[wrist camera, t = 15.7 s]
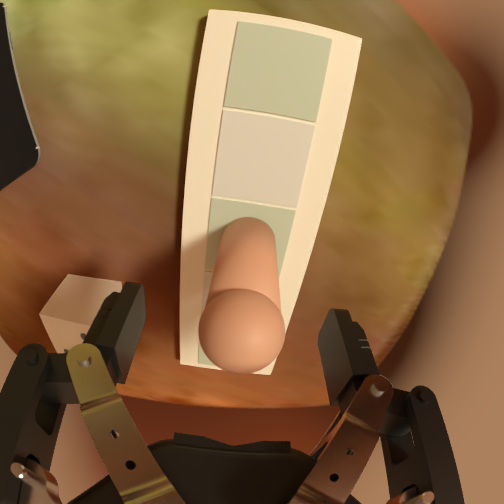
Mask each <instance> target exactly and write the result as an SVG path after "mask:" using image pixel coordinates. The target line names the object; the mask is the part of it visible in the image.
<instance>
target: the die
mask: <svg viewBox="0 0 504 504" xmlns="http://www.w3.org/2000/svg"><path fill="white" fill-rule="evenodd" d="M121 290H122V284H121V281H113V280H106V279H99V278H92V277H85V276H78V275H72V274H68V275H67V276H66V277H65V279H64V280H63V281H62V283H61V284H60V285H59V287H58V288H57V289H56V291H55V292H54V293H53V295H52V296H51V297H50V299H49V300H48V302H47V303H46V304H45V306H44V307H43V309H42V310H41V311H40V313H39V315H40V318H41V320H42V322H43V324H44V327H45V329H46V331H47V333H48V335H49V338H50V340H51V342H52V344H53V346H54V348H55V350H56V352H57V353H68V352H69V350H70V349H71V348H73V347H74V346H76V345H78V344H82V342H83V341H84V339H85V336H86V334H87V332H88V330H89V328H90V326H91V324H92V322H93V320H94V318H95V317H96V316H97V313H98V311H99V309H100V307H101V305H102V303H103V301H104V299H105V298H106V297H107V296H109V295H110V294H111V293H112V292H119V293H120V292H121Z"/></svg>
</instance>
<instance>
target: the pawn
mask: <svg viewBox="0 0 504 504" xmlns="http://www.w3.org/2000/svg"><path fill="white" fill-rule="evenodd" d="M198 335H199V341H200V345H201V347H202V349H203V352H204V353H205V355H206V356H207V358H208V359H209V360H210V361H211V362H212V363H213V364H214V365H216V366H217V367H219V368H221V369H222V370H225V371H227V372H230V373H235V374H249V373H254V372H257V371H259V370H262V369H263V368H265V367H267V366H268V365H269V364H271V363H272V362H273V361H274V359H275V358H276V357H277V356H278V354H279V353H280V351H281V349H282V346H283V343H284V339H285V324H284V320H283V317H282V314H281V301H280V289H279V277H278V265H277V253H276V242H275V235H274V233H273V230H272V229H271V227H270V226H269V225H268V224H267V223H265V222H264V221H262V220H260V219H258V218H254V217H242V218H238V219H236V220H234V221H232V222H231V223H230V224H228V225H227V227H226V228H225V230H224V231H223V234H222V238H221V242H220V246H219V250H218V254H217V259H216V263H215V267H214V271H213V275H212V280H211V284H210V288H209V293H208V297H207V301H206V306H205V309H204V311H203V313H202V315H201V318H200V321H199V327H198Z"/></svg>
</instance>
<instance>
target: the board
mask: <svg viewBox="0 0 504 504" xmlns="http://www.w3.org/2000/svg"><path fill="white" fill-rule="evenodd" d="M361 43H362V38H359V37H356V36H353V35H349V34H346V33H343V32H339V31H336V30H332V29H329V28H325V27H321V26H317V25H313V24H309V23H305V22H300V21H295V20H290V19H285V18H280V17H274V16H268V15H261V14H254V13H246V12H237V11H225V10H210V9H209V13H208V18H207V24H206V29H205V34H204V40H203V45H202V51H201V57H200V63H199V69H198V76H197V83H196V89H195V97H194V104H193V112H192V120H191V129H190V137H189V147H188V157H187V168H186V179H185V192H184V206H183V222H182V241H181V267H180V364H185V365H191V366H198V367H204V368H211V369H219V370H222V369H221V368H219V367H217V366H216V365H214V364H213V363H212V362H211V361H210V360H209V359H208V358H207V356H206V355H205V353H204V352H203V349H202V347H201V345H200V341H199V335H198V327H199V321H200V318H201V315H202V313H203V311H204V309H205V306H206V301H207V297H208V293H209V288H210V284H211V280H212V275H213V271H214V267H215V263H216V259H217V254H218V250H219V246H220V242H221V238H222V234H223V231H224V230H225V228H226V227H227V225H228V224H230V223H231V222H232V221H234V220H236V219H238V218H242V217H254V218H258V219H260V220H262V221H264V222H265V223H267V224H268V225H269V226H270V227H271V229H272V230H273V233H274V235H275V242H276V253H277V265H278V277H279V289H280V301H281V314H282V317H283V320H284V324H285V333H286V330H287V327H288V324H289V321H290V318H291V315H292V312H293V309H294V306H295V303H296V300H297V296H298V293H299V290H300V287H301V284H302V281H303V277H304V274H305V271H306V268H307V265H308V261H309V258H310V255H311V251H312V248H313V244H314V241H315V238H316V234H317V231H318V227H319V224H320V220H321V217H322V213H323V209H324V206H325V202H326V198H327V195H328V191H329V187H330V183H331V179H332V176H333V172H334V168H335V164H336V160H337V156H338V152H339V148H340V143H341V139H342V135H343V131H344V126H345V122H346V117H347V113H348V108H349V104H350V99H351V94H352V90H353V85H354V80H355V75H356V70H357V64H358V59H359V54H360V48H361ZM276 358H277V357H276ZM276 358H275V359H274V361H273V362H272V363H271V364H269V365H268V366H267V367H265V368H263V369H262V370H259V371H257V372H254V373H255V374H266V375H271V372H272V369H273V367H274V364H275V361H276Z"/></svg>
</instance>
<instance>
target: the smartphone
mask: <svg viewBox="0 0 504 504" xmlns="http://www.w3.org/2000/svg"><path fill="white" fill-rule="evenodd" d="M39 159H40V148H39V144H38V142H37V139H36V136H35V133H34V130H33V127H32V124H31V121H30V118H29V114H28V111H27V108H26V104H25V101H24V97H23V94H22V90H21V86H20V82H19V78H18V74H17V69H16V65H15V60H14V55H13V47H12V42H11V36H10V32H9V25H8V17H7V7H6V4H5V3H0V190H1V189H3V188H4V187H5V186H7V185H8V184H9V183H11V182H12V181H13V180H15V179H16V178H18V177H19V176H21V175H22V174H23V173H25V172H26V171H28V170H29V169H31V168H32V167H34V166H35V165H36V164H37V163H38V161H39Z"/></svg>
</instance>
